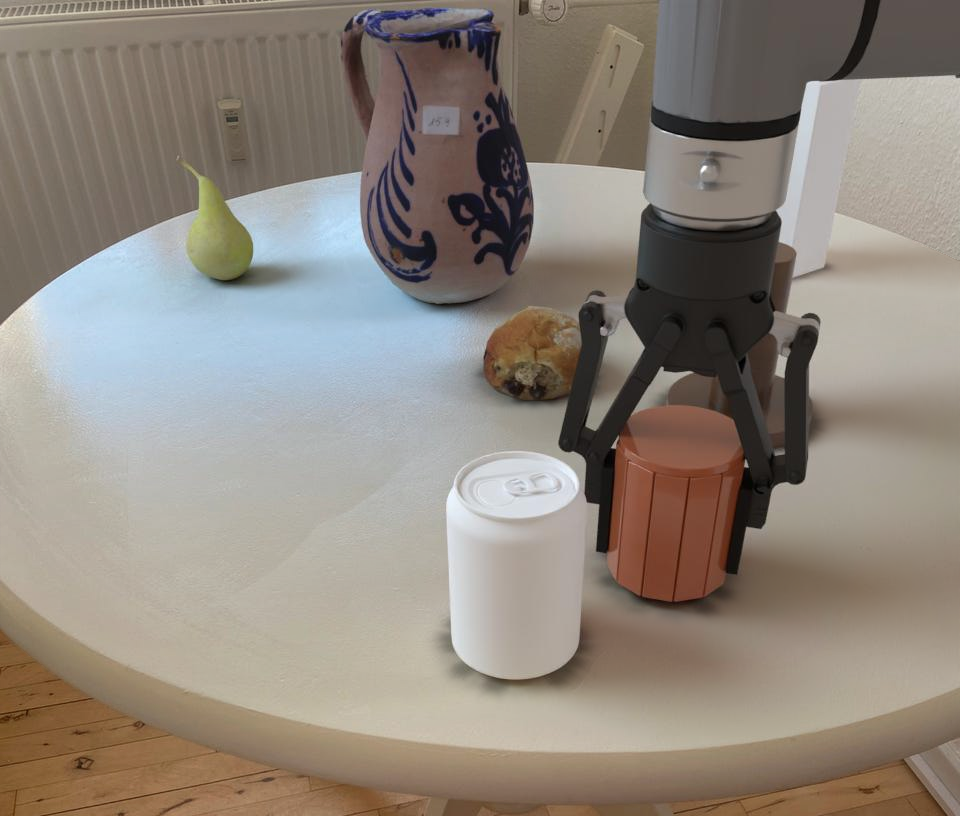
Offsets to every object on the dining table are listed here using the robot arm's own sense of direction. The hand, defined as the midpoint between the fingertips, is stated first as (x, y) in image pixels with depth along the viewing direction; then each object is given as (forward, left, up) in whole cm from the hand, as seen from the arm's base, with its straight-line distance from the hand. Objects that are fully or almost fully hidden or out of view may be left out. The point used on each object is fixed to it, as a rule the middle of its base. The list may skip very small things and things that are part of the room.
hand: (668, 551), depth 72 cm
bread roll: (+16, -26, -2) cm, 31 cm away
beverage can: (+8, +10, -2) cm, 13 cm away
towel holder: (-2, -24, -2) cm, 24 cm away
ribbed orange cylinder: (0, 0, -1) cm, 1 cm away
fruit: (+55, -40, -2) cm, 68 cm away
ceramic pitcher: (+32, -44, -2) cm, 54 cm away
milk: (-3, -59, -2) cm, 59 cm away
